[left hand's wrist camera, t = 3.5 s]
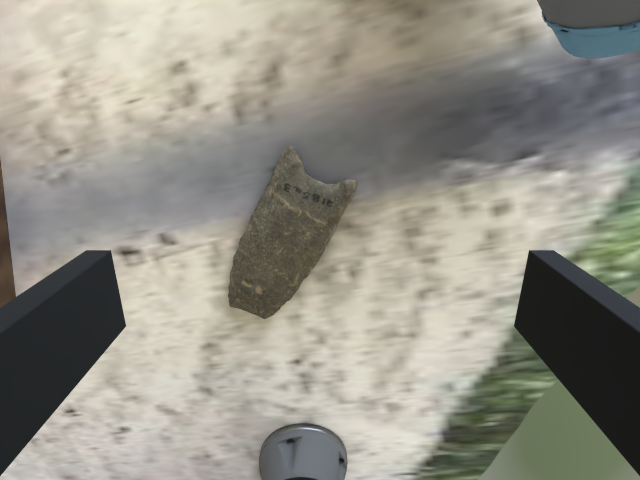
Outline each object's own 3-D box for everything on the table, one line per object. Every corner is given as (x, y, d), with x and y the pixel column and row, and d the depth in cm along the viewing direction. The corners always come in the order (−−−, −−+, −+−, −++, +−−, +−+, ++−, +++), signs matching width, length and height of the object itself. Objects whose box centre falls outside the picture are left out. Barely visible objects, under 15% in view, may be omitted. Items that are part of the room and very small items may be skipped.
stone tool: (284, 141, 50) (215, 296, 58) (283, 144, 48) (210, 305, 55) (360, 178, 52) (282, 323, 60) (362, 183, 49) (280, 334, 57)
